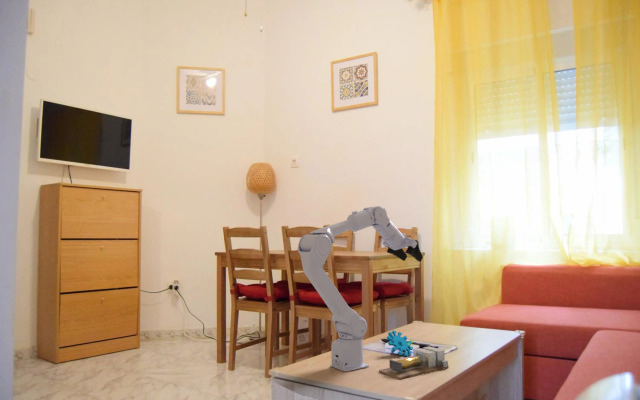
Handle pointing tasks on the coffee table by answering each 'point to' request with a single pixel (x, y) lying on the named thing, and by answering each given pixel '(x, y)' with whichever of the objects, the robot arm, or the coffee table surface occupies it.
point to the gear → (399, 343)
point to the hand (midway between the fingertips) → (413, 259)
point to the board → (410, 371)
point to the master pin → (405, 363)
